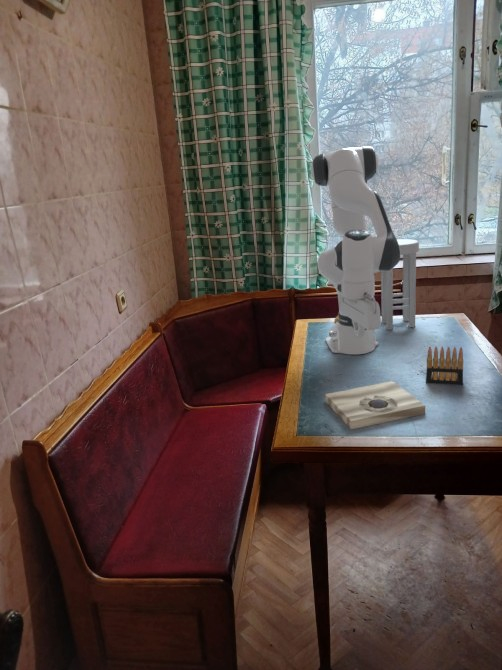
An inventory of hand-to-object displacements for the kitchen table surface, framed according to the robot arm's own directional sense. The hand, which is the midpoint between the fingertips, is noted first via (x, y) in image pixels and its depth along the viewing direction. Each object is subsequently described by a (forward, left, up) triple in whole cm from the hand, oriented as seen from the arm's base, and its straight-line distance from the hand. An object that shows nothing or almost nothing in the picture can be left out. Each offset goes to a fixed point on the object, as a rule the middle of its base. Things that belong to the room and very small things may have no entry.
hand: (359, 335), depth 144 cm
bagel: (-64, +24, -20) cm, 71 cm away
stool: (-56, +44, -20) cm, 74 cm away
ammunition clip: (+2, +27, -20) cm, 33 cm away
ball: (+12, 0, -18) cm, 21 cm away
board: (+8, 0, -20) cm, 21 cm away
